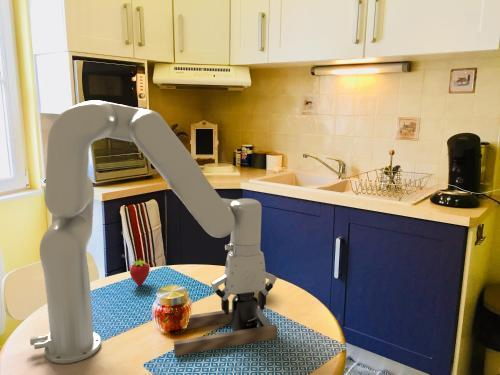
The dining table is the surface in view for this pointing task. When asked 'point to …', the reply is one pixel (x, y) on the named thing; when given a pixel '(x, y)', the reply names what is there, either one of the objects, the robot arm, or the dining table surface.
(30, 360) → the dining table surface
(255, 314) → the supplement bottle
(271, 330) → the channel
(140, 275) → the strawberry
